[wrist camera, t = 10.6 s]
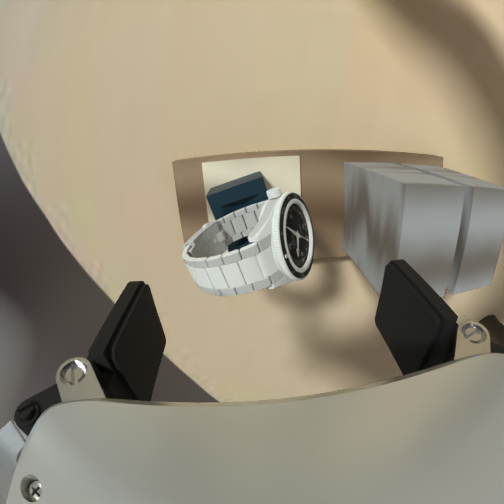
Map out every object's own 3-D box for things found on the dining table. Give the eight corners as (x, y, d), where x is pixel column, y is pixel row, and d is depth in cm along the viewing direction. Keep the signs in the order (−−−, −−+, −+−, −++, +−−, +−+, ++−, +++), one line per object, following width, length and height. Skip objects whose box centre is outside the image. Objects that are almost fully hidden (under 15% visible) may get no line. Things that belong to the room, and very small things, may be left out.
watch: (301, 223, 24) (341, 290, 14) (214, 252, 25) (199, 333, 15) (282, 162, 22) (317, 188, 12) (190, 194, 23) (152, 245, 13)
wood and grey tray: (176, 160, 23) (125, 183, 12) (434, 155, 23) (514, 178, 13) (191, 262, 27) (165, 340, 17) (426, 242, 27) (489, 294, 17)
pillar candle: (491, 306, 33) (539, 359, 19) (499, 327, 35) (538, 375, 22) (454, 346, 36) (495, 407, 22) (466, 362, 38) (500, 415, 25)
